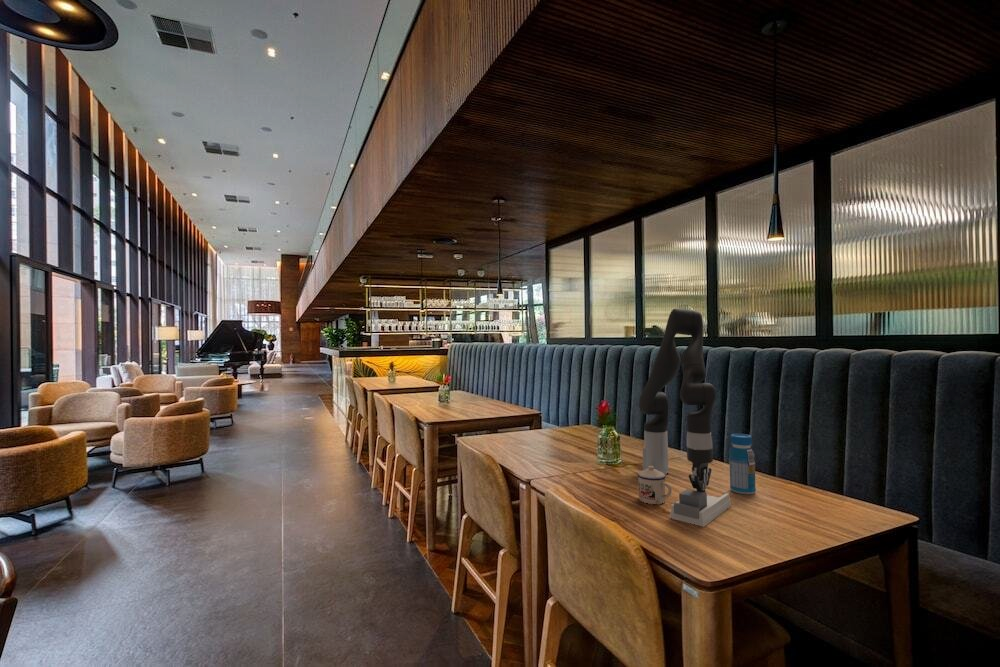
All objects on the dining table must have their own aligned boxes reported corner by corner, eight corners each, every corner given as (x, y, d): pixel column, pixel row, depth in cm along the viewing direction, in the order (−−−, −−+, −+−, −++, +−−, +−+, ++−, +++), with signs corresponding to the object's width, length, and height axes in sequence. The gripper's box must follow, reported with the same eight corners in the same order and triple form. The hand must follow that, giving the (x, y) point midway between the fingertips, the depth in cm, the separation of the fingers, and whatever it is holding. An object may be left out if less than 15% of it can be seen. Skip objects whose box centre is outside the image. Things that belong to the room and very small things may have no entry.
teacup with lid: (632, 499, 156) (631, 465, 157) (648, 494, 162) (648, 461, 162) (663, 509, 146) (662, 473, 147) (679, 503, 152) (678, 468, 152)
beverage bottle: (733, 494, 160) (731, 437, 161) (727, 486, 168) (725, 432, 169) (759, 495, 158) (757, 438, 159) (752, 488, 166) (750, 433, 167)
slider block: (679, 509, 139) (679, 493, 140) (687, 504, 144) (687, 488, 144) (699, 514, 135) (698, 497, 135) (707, 509, 139) (706, 493, 140)
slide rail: (669, 518, 139) (669, 502, 139) (699, 499, 155) (699, 484, 156) (703, 527, 132) (702, 510, 132) (730, 506, 148) (730, 490, 149)
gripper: (695, 441, 151) (697, 493, 151) (679, 447, 142) (680, 503, 141) (719, 444, 146) (721, 498, 145) (703, 451, 136) (705, 509, 136)
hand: (701, 501), depth 143 cm, fingers closed
